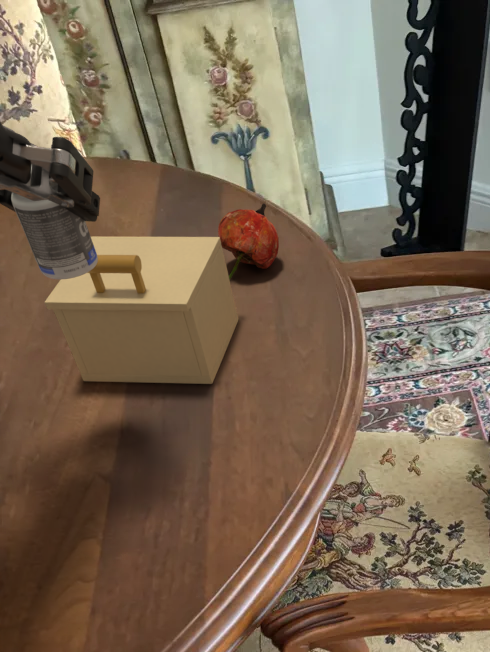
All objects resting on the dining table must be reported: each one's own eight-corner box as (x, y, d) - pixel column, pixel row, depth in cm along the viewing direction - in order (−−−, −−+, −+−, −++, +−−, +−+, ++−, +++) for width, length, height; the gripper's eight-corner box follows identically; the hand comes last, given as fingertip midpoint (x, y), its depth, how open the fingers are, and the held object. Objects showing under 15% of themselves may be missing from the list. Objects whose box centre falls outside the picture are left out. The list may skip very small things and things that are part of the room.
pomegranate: (263, 303, 94) (307, 230, 93) (218, 271, 88) (263, 193, 87) (232, 286, 98) (273, 216, 97) (187, 254, 93) (230, 179, 92)
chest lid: (188, 311, 73) (176, 267, 70) (47, 309, 74) (28, 266, 71) (221, 244, 81) (211, 202, 78) (94, 243, 82) (79, 202, 79)
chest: (212, 384, 80) (190, 307, 73) (83, 381, 81) (50, 305, 75) (238, 319, 88) (221, 244, 81) (120, 317, 89) (94, 243, 82)
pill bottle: (107, 268, 64) (71, 164, 58) (51, 287, 63) (7, 181, 57) (88, 246, 67) (52, 144, 61) (33, 263, 66) (-10, 160, 59)
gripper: (5, 37, 45) (149, 163, 62) (-208, 34, 47) (-13, 156, 64) (-5, 171, 46) (141, 260, 62) (-215, 161, 48) (-19, 249, 65)
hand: (62, 207), depth 63 cm, fingers closed on pill bottle, 4 cm apart
